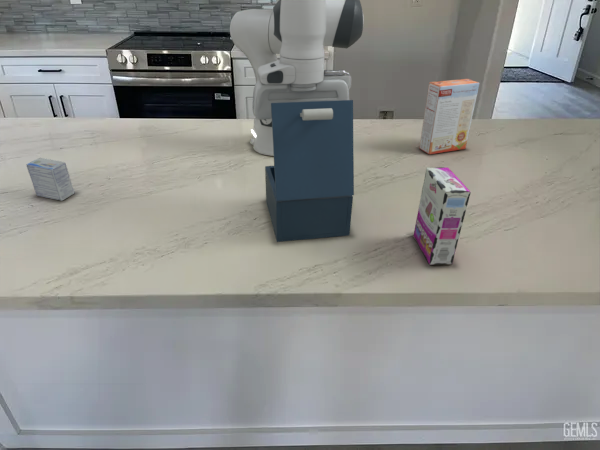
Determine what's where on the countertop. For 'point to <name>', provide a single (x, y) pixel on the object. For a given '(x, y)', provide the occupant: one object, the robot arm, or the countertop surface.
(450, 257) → the candy bar box
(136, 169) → the countertop surface
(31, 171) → the medicine box
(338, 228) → the dark blue open box
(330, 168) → the lid
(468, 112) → the cracker box
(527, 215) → the countertop surface
